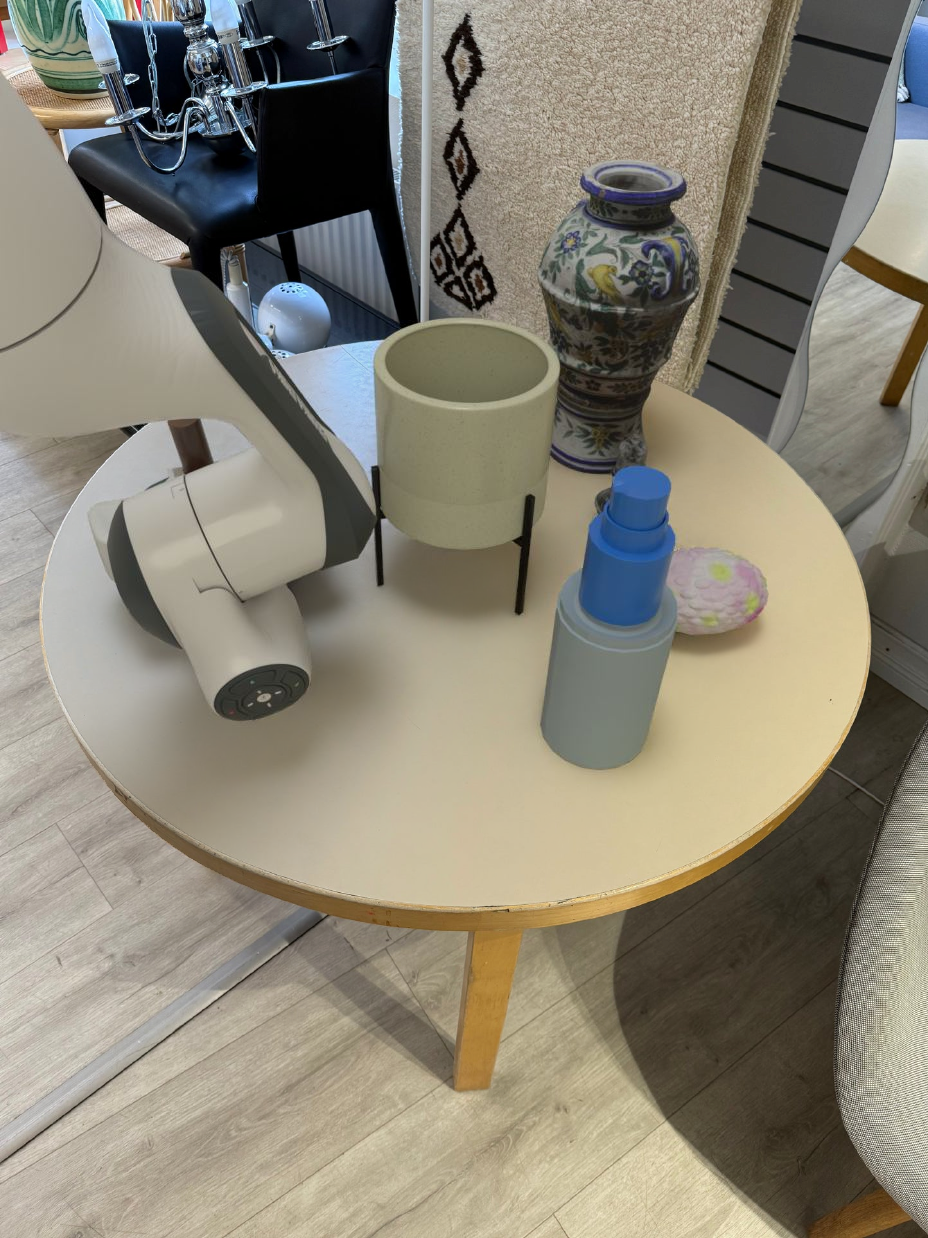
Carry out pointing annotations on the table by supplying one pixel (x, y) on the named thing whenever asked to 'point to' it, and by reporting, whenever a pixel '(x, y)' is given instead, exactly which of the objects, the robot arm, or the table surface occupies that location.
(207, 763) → the table surface
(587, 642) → the spray bottle
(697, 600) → the decorative item
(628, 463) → the salt shaker
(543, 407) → the planter
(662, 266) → the vase
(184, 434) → the post on square base
